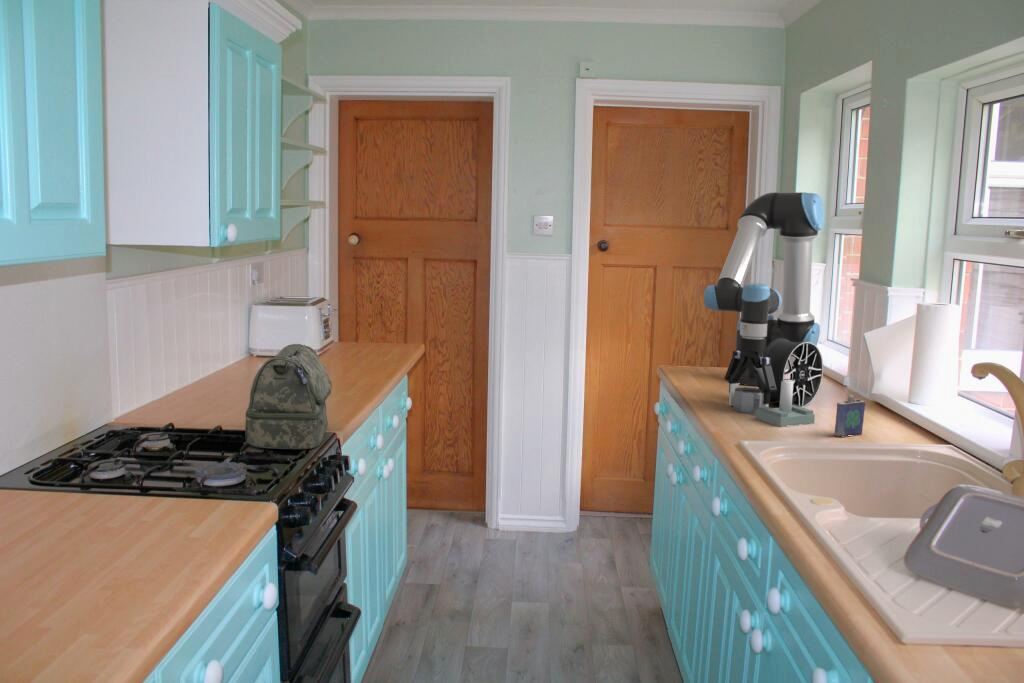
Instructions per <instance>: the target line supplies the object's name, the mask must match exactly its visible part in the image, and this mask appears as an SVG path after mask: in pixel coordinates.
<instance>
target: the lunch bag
mask: <svg viewBox="0 0 1024 683" xmlns="http://www.w3.org/2000/svg"><path fill="white" fill-rule="evenodd" d="M332 386H333V384H332V381H331V379H330V377H329V375H328V371H327V369H326V367H325V366H324V364H323V362H322V361H321V359H320V358H319V356H318V354H317V352H316V351H315V350H314V349H313V348H312V347H311V346H308V345H306V344H301V343H292V344H288V345H286V346H284V347H283V348H282V349H281V350H280V351H278V353H276V354H275V356H273V357H271V358H269V359H268V360H266V361H265V362H263V364H262V366H260V367H259V369H258V371H257V372H256V374H255V376H254V378H253V381H252V384H251V387H250V388H251V389H250V393H249V403H248V408H247V409H246V411H245V441H246V442H247V443H248V445H250V446H252V447H254V448H259V449H260V448H261V449H264V448H265V449H274V450H275V449H279V450H310V449H314V448H315V449H316V448H317V447H318V446H320V444H321V443H322V441H323V438H324V436H325V434H326V431H327V428H328V425H329V422H328V416H327V403H326V401H327V399H328V397H329V396H330V395H331V393H332V388H333V387H332Z"/></svg>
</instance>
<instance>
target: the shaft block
mask: <svg viewBox="0 0 1024 683" xmlns="http://www.w3.org/2000/svg"><path fill="white" fill-rule="evenodd" d="M792 396H793V382H790V381H781V393H780V402H779V407H771V406H770V407H766V406H759V407H758V410H756V414H755V416H754V417H755V418H754V419H755V420H758V421H762V422H764V421H765V423H767V422H768V424H770V423H771V425H773V424H774V426H776V425H778V426H777V427H779V426H784V427H788V426H787V425H794V426H800V425H799V424H803V425H809V424H808V423H813V424H815V416H816V415H815V414H814V410H812V409H809V408H805V407H803V408H802V407H799V406H795V405H792Z"/></svg>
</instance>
